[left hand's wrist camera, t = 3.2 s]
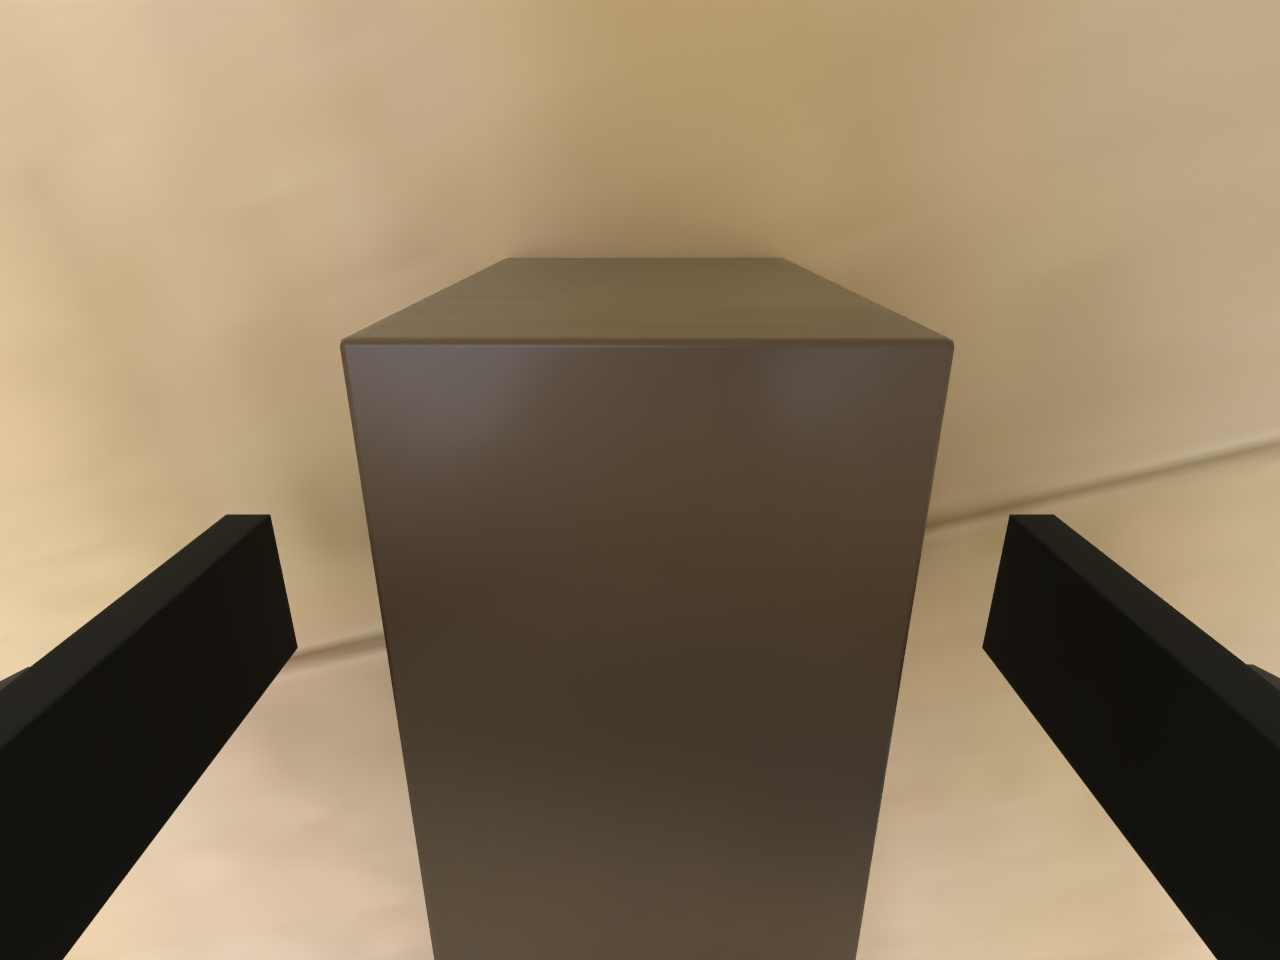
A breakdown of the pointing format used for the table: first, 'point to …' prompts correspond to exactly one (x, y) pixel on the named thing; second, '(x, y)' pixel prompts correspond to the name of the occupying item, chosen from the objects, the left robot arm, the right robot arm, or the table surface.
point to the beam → (646, 597)
